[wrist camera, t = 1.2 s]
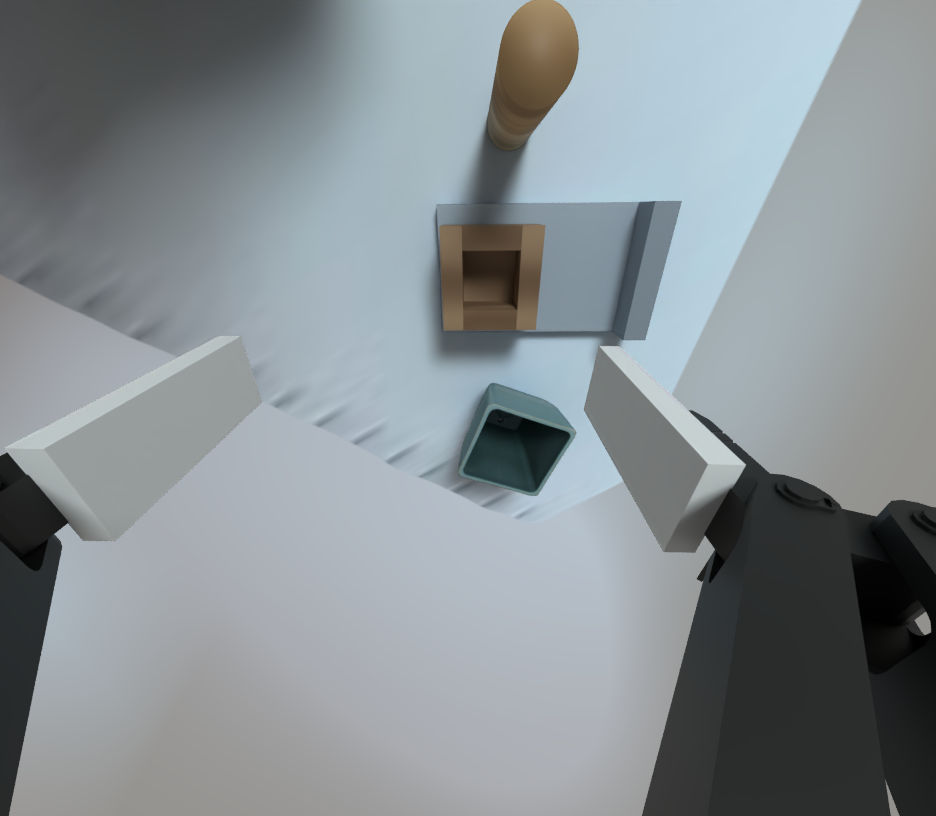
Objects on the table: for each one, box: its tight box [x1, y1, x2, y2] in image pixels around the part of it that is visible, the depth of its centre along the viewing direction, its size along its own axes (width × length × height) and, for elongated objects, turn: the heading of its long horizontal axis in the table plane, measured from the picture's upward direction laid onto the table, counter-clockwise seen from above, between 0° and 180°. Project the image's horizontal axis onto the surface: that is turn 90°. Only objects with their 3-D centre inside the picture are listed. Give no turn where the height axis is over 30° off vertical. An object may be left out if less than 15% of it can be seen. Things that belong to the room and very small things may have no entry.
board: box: [436, 201, 682, 340], centre depth 30 cm, size 11×19×4 cm, turn 91°
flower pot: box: [458, 383, 576, 496], centre depth 36 cm, size 9×9×9 cm
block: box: [439, 224, 546, 330], centre depth 29 cm, size 8×8×4 cm
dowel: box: [487, 0, 579, 151], centre depth 21 cm, size 4×4×13 cm
